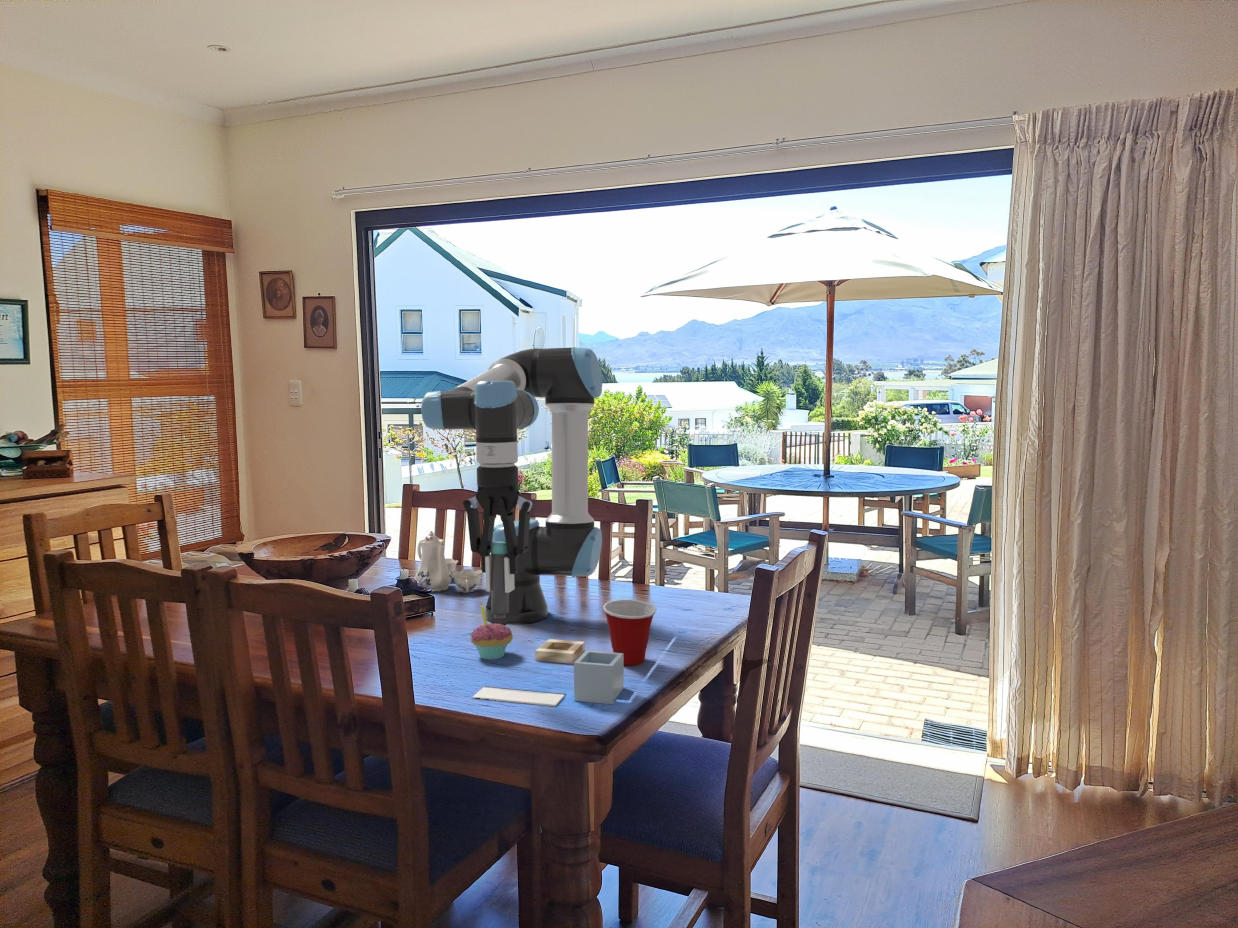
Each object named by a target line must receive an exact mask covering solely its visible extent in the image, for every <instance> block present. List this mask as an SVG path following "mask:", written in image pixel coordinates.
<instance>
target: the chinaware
mask: <svg viewBox="0 0 1238 928" xmlns="http://www.w3.org/2000/svg"><path fill="white" fill-rule="evenodd" d="M443 542H444V539H442V538H439V537H438V536H437V535H435V533H434V532H433V531H432V530H430V531H429V533H428V535H426V536H425V537H424V539H422V540H419V542H418V544H417V555H418V559H419V560H420V563H419V565H418V568H417V570H416V571H415V573H414V575H413V578H414V579H415V580H417V581H418V582H419V583H420V584H422V585H426V586H428V587H429V588H430V589H431V590H433V591H438V592H442V591H441V590H443V591H445V590H448V589H449V586H450V584H451V583H452V581H453V580H454V583H455V585H456V586H457V588H459V589H461V591H460V592H462V593H464V594H465V593H473V592H475V590H474V589H475V588H476V587H477V586H478V585H479V584H480V582H481V578H482V576H483V572H482V570H481V569H477V570H474V569H472V568H466V569H465V568H464V569H462V570H460V571H458V570H456V566H457V564H458V563H459V559H456V560H455V559H453V558H452V557H448V558H445V551H444V547H445V543H443ZM414 579H413V580H414Z"/></svg>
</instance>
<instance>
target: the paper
mask: <svg viewBox="0 0 1238 928" xmlns="http://www.w3.org/2000/svg"><path fill="white" fill-rule="evenodd" d="M566 696H567V693H560V692H559V693H558V692H549V691H548V692H547V691H537V690H536V691H535V690H528V689H517V688H516V689H515V688H506V687H495V686H486V685H485V686H483V687H482V688H480V690H478V691H477V693H475V694H474V695H472V699H475V698H480V699H479V700H485V699H489V700H488V701H495V700H496V701H498V702H506V703H507V702H508V703H517V704H525V705H526V704H527V705H538V706H545V707H546V706H547V707H556V706H557V705H558V704H560V702H561V701H562V700H563V699H564V698H565V697H566Z"/></svg>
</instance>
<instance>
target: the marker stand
mask: <svg viewBox="0 0 1238 928" xmlns="http://www.w3.org/2000/svg"><path fill="white" fill-rule="evenodd" d="M585 651H586V643H585V641H579V640H578V641H577V640H567V639H566V640H563V639H554V638H553V639H551V638H549V639H547V640H546V641H545V642H543V643H542V644H541V645H539V647H538V648H537V649H535V651H534V655H535V656H534V659H535V660H534V661H539V662H548V663H558V664H560V663H561V664H562V663H563V664H573V665H574V662H575V661H576V660H577V659H578V658H579V657H580V656H581V655H582V654H583V653H584V652H585Z"/></svg>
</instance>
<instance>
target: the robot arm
mask: <svg viewBox="0 0 1238 928" xmlns="http://www.w3.org/2000/svg"><path fill="white" fill-rule="evenodd" d="M487 369H488V370H486V371H484V372H482V373H480V374H479V375H476V376H475V377H472V378H471V379H469V380H467V381H466V382H464V383H461V384H460V385H458V386H456V387H454V388H452V389H450V390H438V391H437V390H436V391H435V390H434V391H428V392H426V394H425V395H424V396H423V398H422V401H421V405H420V412H421V418H422V421H423V423H424V425H425V426H426V427H427V428H429V429H431V430H442V431H446V430H475V446H476V450H475V451H476V452H475V453H476V454H475V455H476V463H477V464H479V466H477V468H476V485H477V490H476V493H475V496H473V497H471V498H467V499H465V500H463V502H462V505H463V508H464V509H465V512H466V517H467V525H468V526H467V527H468V535H469V536H468V537H469V544H470V545H469V546H470V550H471V552H472V553H476V554H478V555H479V556H480V564H481V565H480V566H481V567H480V570H482V574H483V573H485V592H487V593H488V592H489V594H488V598H487V600H486V604H485V606H484V610H485V615H486V620H487V621H489V622H490V623H498V624H502V625H508V624H530V623H531V624H532V623H534V622H538V621H542V620H544V619H546V618H547V617H548V616H549V615H548V614H549V613H548V603H547V601H546V598H545V595H544V591H543V589H542V586H541V578H540V577H541V576H560V577H561V576H563V577H572V578H576V577H589V576H591V575H593V573H594V572H595V571H596V569H597V567H598V564H599V560H600V558H601V552H602V545H603V535H602V534H603V533H602V530H601V528H599V527H598V526H596V527H595V519H594V518H593V516H592V515H591V514H589V509H588V508H589V499H588V498H589V494H588V493H589V457H588V456H589V412H590V410H591V409H593V408H594V406H595V399H597V398H600V396H602V392H603V391H602V390H603V389H602V388H603V379H602V378H603V376H602V371H601V370H602V369H601V365H600V363H599V360H598V356H597V355H596V353H595V352H594V351H593V350H592V349H591V348H587V347H576V346H575V347H551V348H529V349H524V350H519V351H517V352H514V353H510V354H508V355H506V356H504V357H501V358H499V359H498V360H495V361H494V362H492V363H491V364H490V366H489V367H488V368H487ZM536 398H544V399H545V402H544V403H545V404H544V405H545V406H546V408H547V409H548V410H550V411H551V513H550V514H549V515H548V517H547V518H545V526H540V522H539V520H538V519H533V518H531V512H532V510H533V507H534V505H535V503H534V501H533V499H529V500H528V499H526V498H524V497H522V495H521V492H520V491H519V467H518V466H517V465H516V463H518V462H519V458H518V457H519V455H518V454H519V453H518V450H519V449H518V430H524V429H525V428H527V427H528V428H529V427H530V426H532V425H533V424H534V423H535V422H536V420H537V419H538V416H539V412H540V410H539V409H540V408H539V403H538V401H537V399H536ZM517 505H518V509H519V510H520V511H519V514H518V520H515V513H514V509H515V508H516V506H517ZM479 506H480V507H481V509H482V510H483V513H482V514H483V515H482V520H483V523H482V529H481V524H480V523H481V522H480V512H479ZM497 516H499V517H500V521H501V522H502V523H500V524H496V525H495V521H496V518H497ZM492 542H506V545H507V551H508V555H506V556H507V557H505V558H504V569H505V593H509V612H508V613H505V618H503V619H496V618H494V613H491V591H492Z"/></svg>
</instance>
